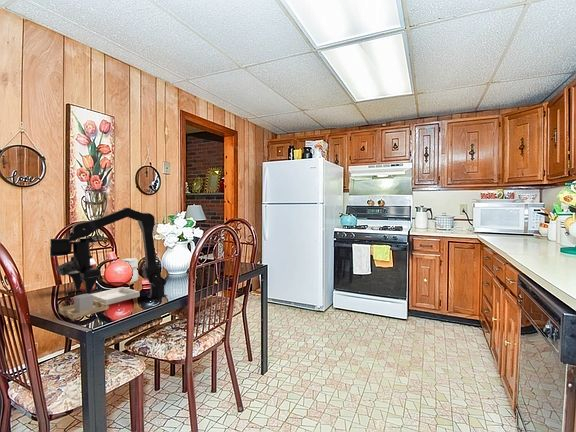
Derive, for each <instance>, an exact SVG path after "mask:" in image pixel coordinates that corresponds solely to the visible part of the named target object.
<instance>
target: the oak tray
mask: <svg viewBox="0 0 576 432" xmlns="http://www.w3.org/2000/svg"><path fill="white" fill-rule="evenodd" d="M93 308H94V309H91V310H87V311H83V312H79V313H78V312H76V311H75V308H74V303H73V304H70V305H65V306H62V307H58V314H60V315H62V316H63V317H67V318H69V319H70V320H72V321H73V320H77V319H80V318H82V317H85V316H88V315H92V314H96V313H99V312H100V313H101V312H103V311H107V310H110V304H109V305H107V304H104V303H101V302H99V301H96V300H93Z"/></svg>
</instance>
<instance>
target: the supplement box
mask: <svg viewBox="0 0 576 432" xmlns="http://www.w3.org/2000/svg"><path fill="white" fill-rule="evenodd" d="M121 260H122V261H125V262H128V263H129V264H130V265H131V267H132V269H133V276H132V279H131V281H130V283H129V284H131V283H133V282H136V281H139V269H138V270H137V268H138V267H139V265H138V262H139V261H138V258H136V257H135V258H134V257H133V258H131V257H127V258H122V259H121Z"/></svg>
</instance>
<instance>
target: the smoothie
mask: <svg viewBox="0 0 576 432" xmlns="http://www.w3.org/2000/svg"><path fill="white" fill-rule="evenodd" d="M90 265H92V266H93V268H97V262H96V261H95V259H94V258H93V257H92V258H90ZM90 269H91V268H90ZM96 283H97V281H96V282H95V284H94V286H93V288H92V290H91V292H92V291H94V290H95V288H96ZM79 290H80V292H82V293H83V292H84V293H85V292H86V289H85V283H84V281H83V280H82V283H81V287H80V289H79Z"/></svg>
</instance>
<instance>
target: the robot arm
mask: <svg viewBox="0 0 576 432" xmlns="http://www.w3.org/2000/svg"><path fill="white" fill-rule="evenodd" d="M126 218H128V219H132V220H134V221H137V223H138V226H139V229H140V231H141V233H142V234H141V235H142V241H143V249H144V250H143V251H144V256H145V257H144V258H145V259H144V260H145V266H142V267H141V270H142V277H143V278H144V279H145V280H146V281H148V283H149V292H150V293H149V295H148V296H147V298H148V299H152V300H159V299H161V298H162V299H163V298H166V297H168V295H167V294H165V286H166V284H167V279H165V278H164V277H162V275H161V271H160V268H159V266H158V264H157V259H156V250H155V242H154V241H155V240H154V232H153V231H154V230H155V229H154V228H155V219H156V218H155V215H153V214H152V213H149V212H140V211H137V210H134V209H132V208H130V207H123V208H122V209H120V210H116V211H114V212H112V213H109V214H106V215H103V216H101V217H98V218H96V219H92V220H85V221H81V222H77V223H74V224H73V225H72V226H71V227H72V228H71V232H70V233H69V234H68V235H67V236H66V238H50V246H49V255H50V257H59V256H60V257H61V256H68V255H69V254H70V253H72V256H71V257H70V260H69V261H67V262H64V263H62V264H59V265H58V266H56V267H55V269H56V270H57V272H58V275H61V276H62V277H63V276H68V277H70V278H71V279H72V282H73V284H74V287H75V290H76V291H80V290H81V289H80V287H81V283H82V280H83V281H84V283H85V289H86V293H85V294H91V292H92V291H93V290H92V288H93V286H94V284H95V282H96V283H97V280H98V278H100V276H102V271H101V270H100V269H99V268H97V267H96V268H93V266H92V265H90V258H93V255H91V249H90V248H91V247H90V245H91V244H90V243H95V242H96V240H95V239H94V238H92V236H90V235H91V234H94V232H96V231H97V230H98V229H101V228H103V227H106V226H108V225H111V224H113V223H115V222H119V221H121V220H124V219H126ZM90 268H91V269H90ZM91 290H92V291H91Z"/></svg>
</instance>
